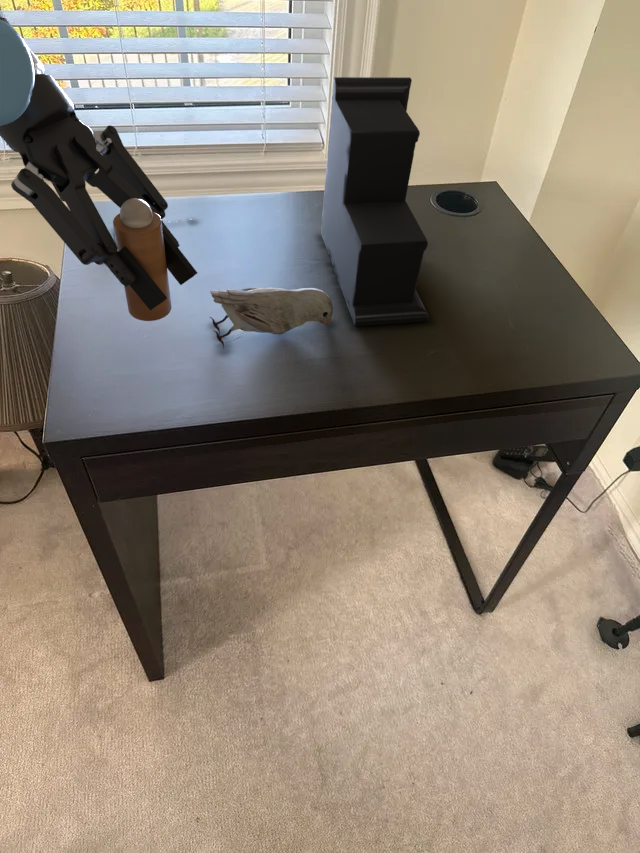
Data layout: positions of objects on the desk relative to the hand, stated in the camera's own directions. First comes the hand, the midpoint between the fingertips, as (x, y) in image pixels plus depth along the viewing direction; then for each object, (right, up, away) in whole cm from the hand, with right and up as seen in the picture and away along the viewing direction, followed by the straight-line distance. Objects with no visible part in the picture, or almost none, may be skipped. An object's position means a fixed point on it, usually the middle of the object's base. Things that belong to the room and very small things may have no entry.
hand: (174, 291), depth 70 cm
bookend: (+23, +7, +25) cm, 35 cm away
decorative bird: (+10, -2, +15) cm, 18 cm away
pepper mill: (-4, -1, +4) cm, 5 cm away
